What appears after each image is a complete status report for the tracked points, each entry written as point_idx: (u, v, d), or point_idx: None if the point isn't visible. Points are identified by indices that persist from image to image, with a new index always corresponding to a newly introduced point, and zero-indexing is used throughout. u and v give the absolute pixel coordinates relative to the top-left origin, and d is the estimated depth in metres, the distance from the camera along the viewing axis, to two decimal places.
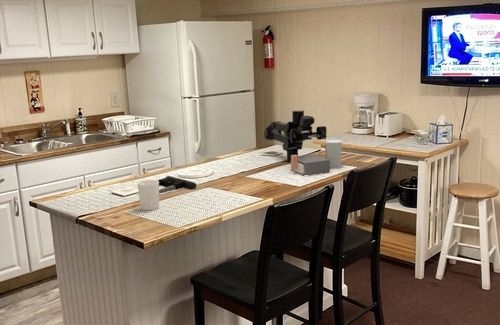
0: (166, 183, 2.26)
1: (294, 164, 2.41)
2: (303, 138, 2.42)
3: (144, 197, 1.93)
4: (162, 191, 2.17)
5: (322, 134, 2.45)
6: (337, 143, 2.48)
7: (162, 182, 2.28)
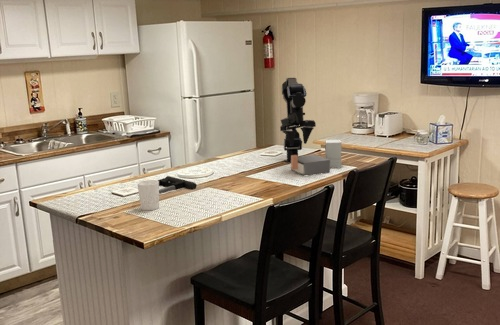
0: (166, 183, 2.26)
1: (294, 164, 2.41)
2: None
3: (144, 197, 1.93)
4: (162, 191, 2.17)
5: None
6: (337, 143, 2.48)
7: (162, 182, 2.28)
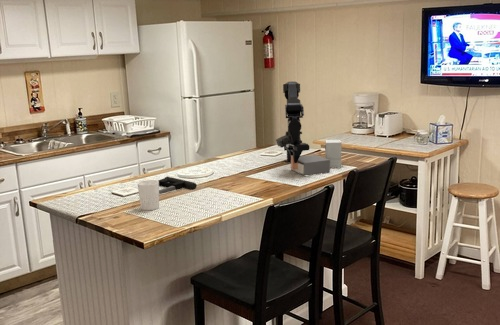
0: (166, 184, 2.25)
1: (294, 164, 2.41)
2: None
3: (144, 197, 1.93)
4: (162, 191, 2.16)
5: None
6: (337, 143, 2.48)
7: (161, 183, 2.27)
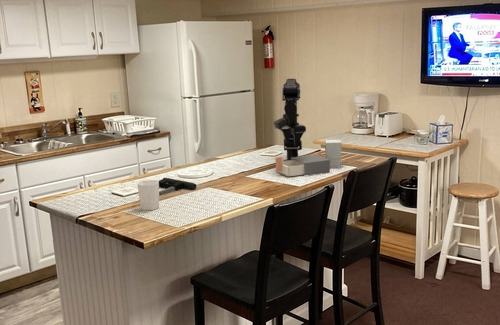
0: (165, 185, 2.23)
1: (278, 166, 2.38)
2: None
3: (144, 197, 1.93)
4: (163, 193, 2.15)
5: None
6: (337, 143, 2.48)
7: (160, 184, 2.25)
